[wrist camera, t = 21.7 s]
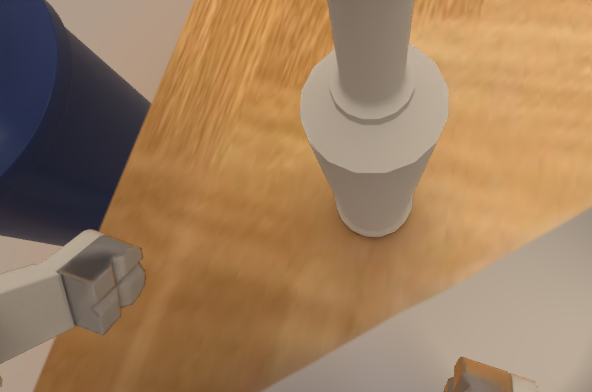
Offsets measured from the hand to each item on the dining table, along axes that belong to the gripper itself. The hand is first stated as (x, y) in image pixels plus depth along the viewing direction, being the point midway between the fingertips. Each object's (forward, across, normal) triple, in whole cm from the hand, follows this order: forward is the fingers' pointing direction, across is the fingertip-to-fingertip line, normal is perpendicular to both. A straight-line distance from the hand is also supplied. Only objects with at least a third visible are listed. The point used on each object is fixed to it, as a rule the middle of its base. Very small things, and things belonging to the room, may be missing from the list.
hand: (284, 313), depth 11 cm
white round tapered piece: (+20, 0, +9) cm, 21 cm away
